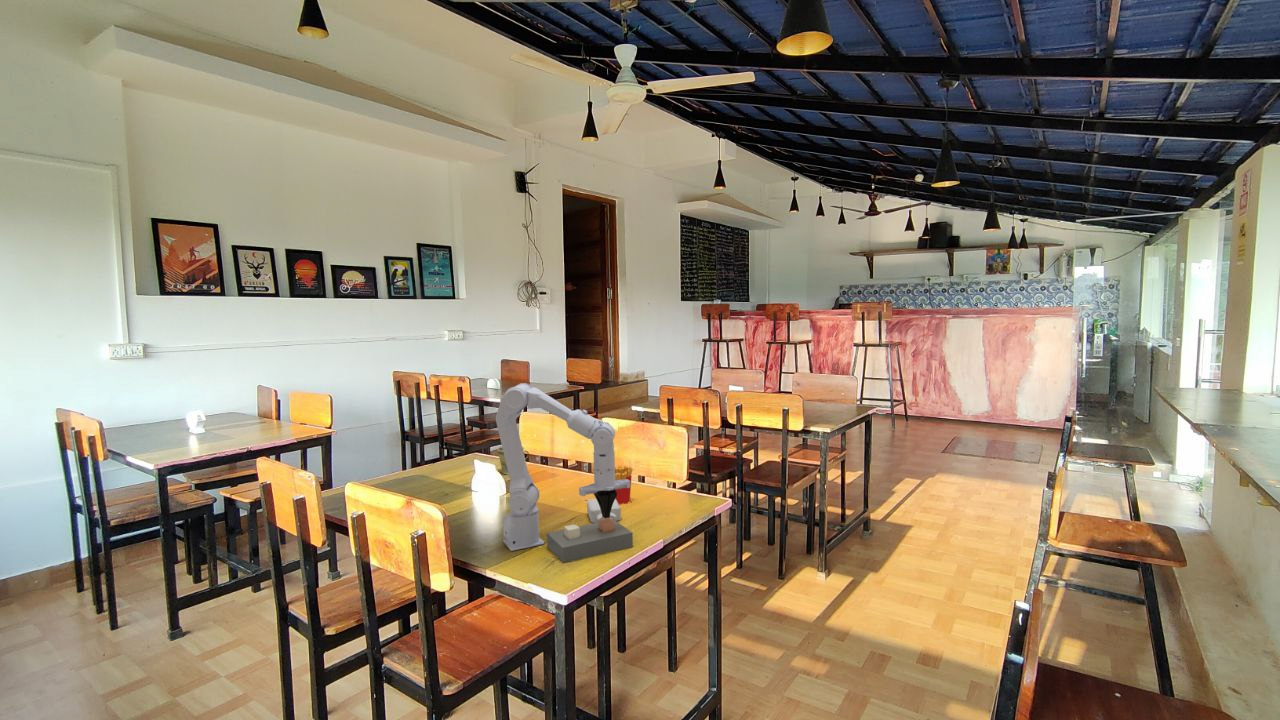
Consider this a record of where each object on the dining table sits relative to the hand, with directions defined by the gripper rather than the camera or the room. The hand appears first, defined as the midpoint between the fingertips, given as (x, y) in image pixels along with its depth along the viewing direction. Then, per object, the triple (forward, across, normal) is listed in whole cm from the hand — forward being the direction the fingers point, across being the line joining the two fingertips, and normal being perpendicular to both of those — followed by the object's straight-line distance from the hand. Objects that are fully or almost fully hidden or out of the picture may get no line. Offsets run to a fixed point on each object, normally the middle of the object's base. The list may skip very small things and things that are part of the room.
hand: (605, 517), depth 168 cm
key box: (+7, -5, 0) cm, 9 cm away
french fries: (+8, +19, +30) cm, 36 cm away
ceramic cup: (+8, -1, +84) cm, 85 cm away
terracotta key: (+4, 0, 0) cm, 4 cm away
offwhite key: (+4, -10, 0) cm, 11 cm away
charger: (+8, +7, +17) cm, 20 cm away
